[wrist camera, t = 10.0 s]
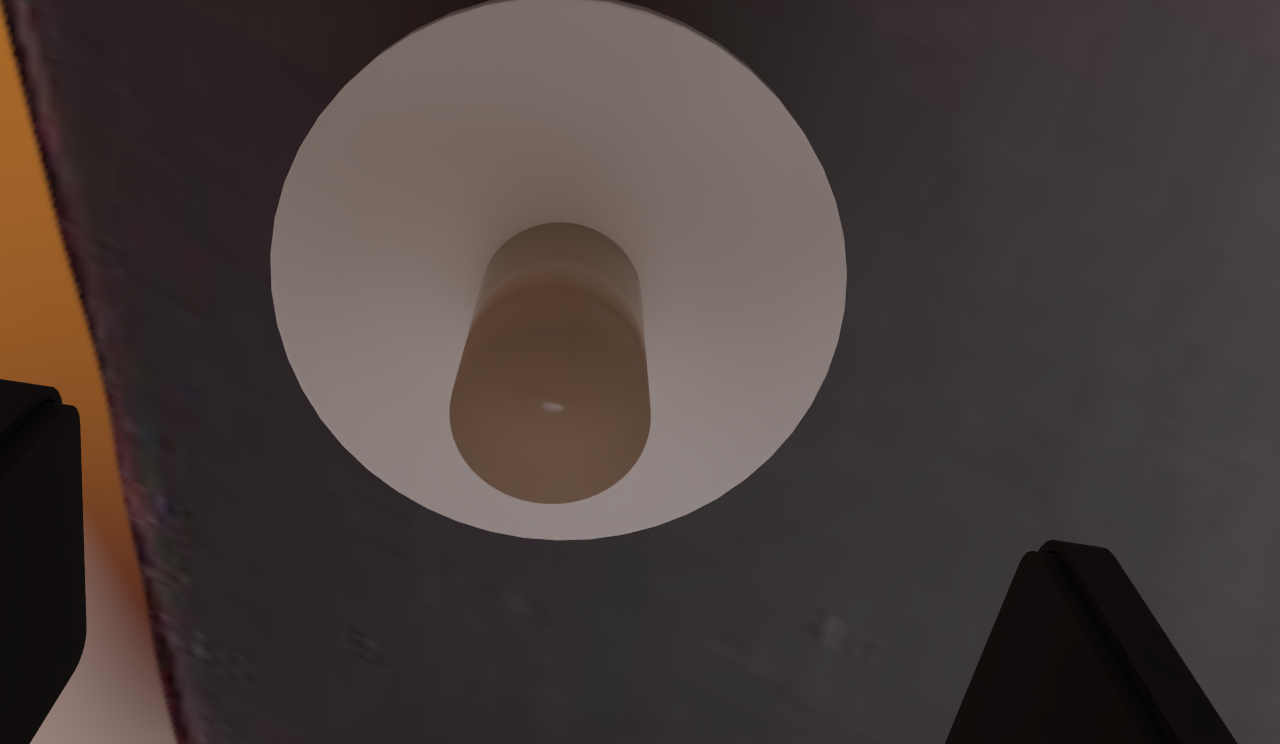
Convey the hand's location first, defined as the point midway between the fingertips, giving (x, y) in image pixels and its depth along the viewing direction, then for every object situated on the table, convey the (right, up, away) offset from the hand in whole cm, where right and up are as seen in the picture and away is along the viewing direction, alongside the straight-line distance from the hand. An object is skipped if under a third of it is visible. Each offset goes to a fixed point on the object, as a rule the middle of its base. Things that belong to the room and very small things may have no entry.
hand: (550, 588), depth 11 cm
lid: (0, +4, +10) cm, 10 cm away
